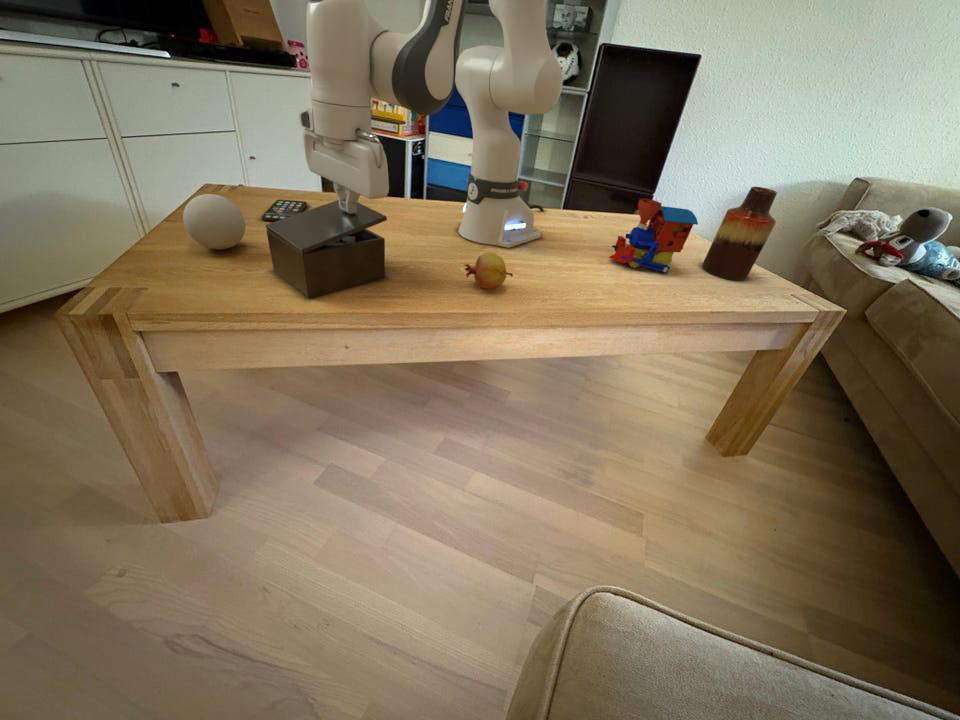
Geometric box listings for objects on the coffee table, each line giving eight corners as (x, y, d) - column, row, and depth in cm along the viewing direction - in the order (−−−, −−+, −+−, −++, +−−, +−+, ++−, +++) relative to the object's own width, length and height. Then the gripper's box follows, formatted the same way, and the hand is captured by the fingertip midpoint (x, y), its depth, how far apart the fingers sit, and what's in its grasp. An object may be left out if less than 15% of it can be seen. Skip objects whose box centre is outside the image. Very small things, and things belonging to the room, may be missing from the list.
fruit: (512, 252, 83) (463, 248, 81) (521, 257, 77) (468, 253, 75) (507, 286, 86) (460, 283, 83) (516, 293, 79) (465, 290, 77)
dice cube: (328, 271, 77) (326, 245, 74) (329, 260, 81) (327, 235, 78) (356, 271, 78) (355, 246, 75) (356, 261, 82) (355, 236, 79)
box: (348, 255, 86) (346, 217, 81) (385, 278, 80) (384, 238, 75) (273, 271, 76) (266, 229, 72) (308, 298, 70) (302, 254, 65)
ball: (196, 260, 76) (179, 204, 70) (187, 241, 82) (172, 188, 76) (255, 253, 81) (245, 201, 75) (243, 236, 87) (233, 186, 81)
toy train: (676, 276, 100) (703, 213, 91) (613, 270, 98) (635, 205, 89) (659, 259, 108) (682, 200, 100) (601, 253, 106) (619, 193, 98)
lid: (348, 200, 80) (347, 196, 79) (387, 220, 74) (386, 216, 73) (266, 229, 72) (264, 224, 71) (302, 254, 65) (301, 249, 65)
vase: (692, 264, 109) (729, 182, 97) (722, 262, 112) (760, 184, 101) (725, 281, 101) (769, 195, 89) (755, 280, 105) (801, 196, 93)
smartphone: (260, 217, 95) (277, 199, 107) (260, 220, 96) (277, 201, 108) (294, 220, 97) (307, 201, 108) (294, 223, 97) (307, 204, 109)
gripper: (399, 136, 63) (398, 226, 71) (327, 113, 73) (333, 194, 81) (363, 136, 59) (366, 232, 67) (293, 112, 69) (303, 197, 77)
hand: (348, 211), depth 74 cm, fingers closed, pressing on lid
